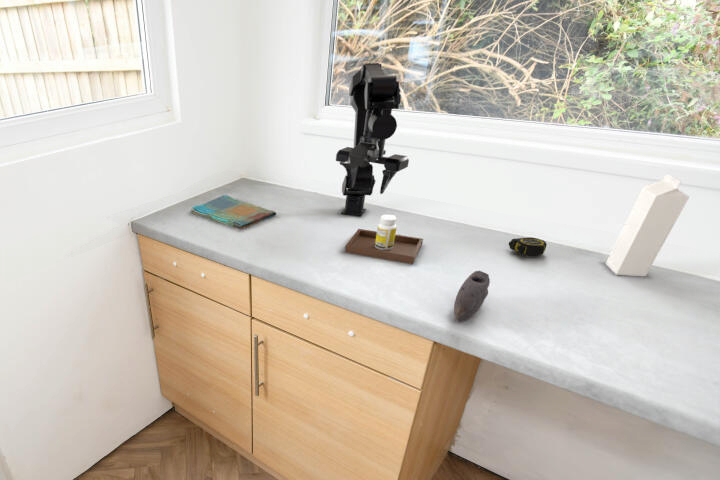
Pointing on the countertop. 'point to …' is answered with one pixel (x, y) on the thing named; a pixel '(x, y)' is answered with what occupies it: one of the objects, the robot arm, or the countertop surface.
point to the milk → (647, 227)
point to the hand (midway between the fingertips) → (366, 190)
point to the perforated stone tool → (471, 295)
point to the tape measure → (528, 246)
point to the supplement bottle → (386, 232)
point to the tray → (401, 251)
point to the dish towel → (232, 212)
